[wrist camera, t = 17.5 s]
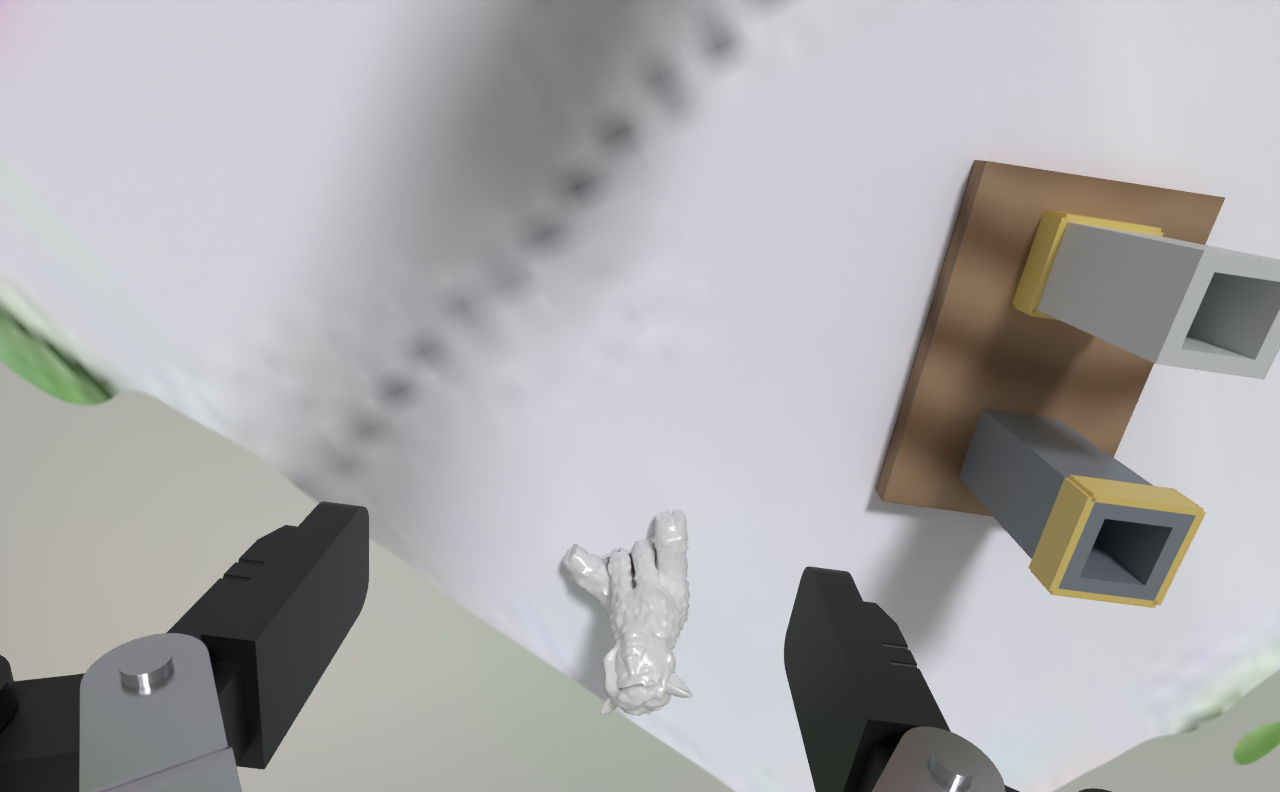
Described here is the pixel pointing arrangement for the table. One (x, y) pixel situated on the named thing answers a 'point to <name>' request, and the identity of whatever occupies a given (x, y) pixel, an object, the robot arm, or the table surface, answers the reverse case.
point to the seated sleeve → (1155, 294)
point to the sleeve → (1078, 510)
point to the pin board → (1018, 330)
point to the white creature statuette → (640, 613)
